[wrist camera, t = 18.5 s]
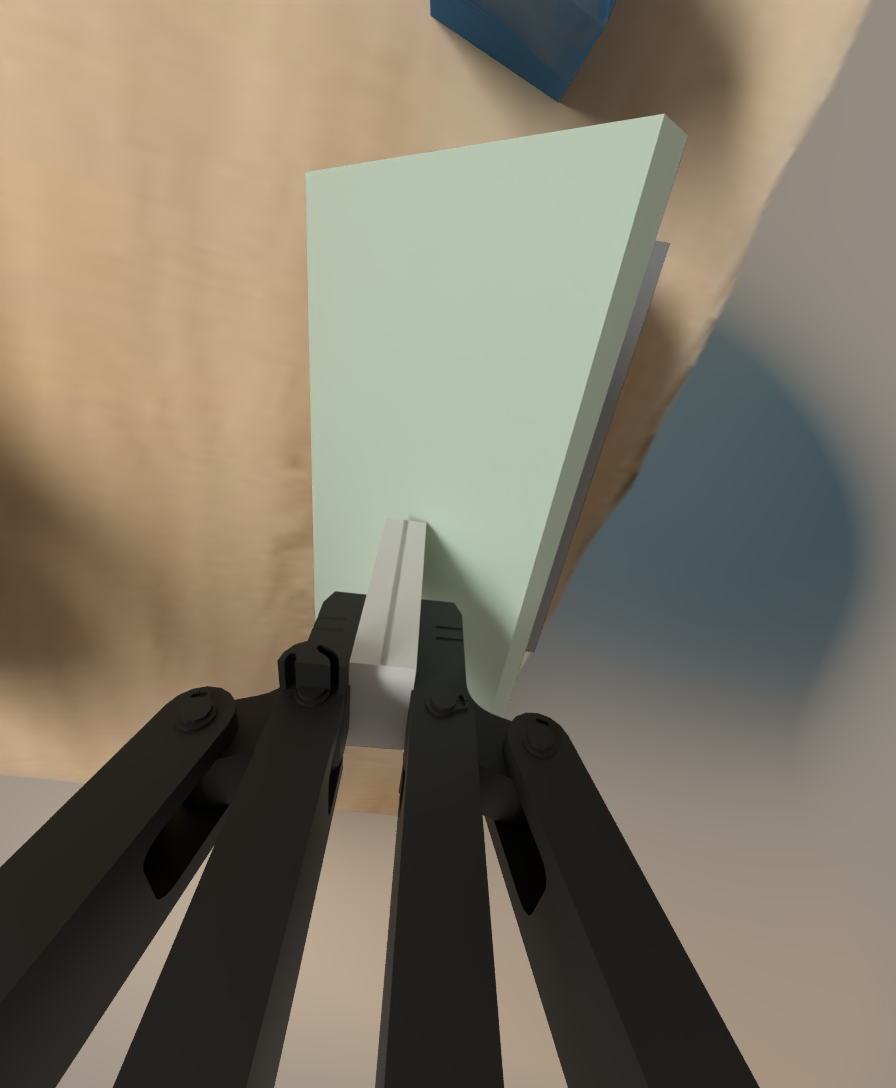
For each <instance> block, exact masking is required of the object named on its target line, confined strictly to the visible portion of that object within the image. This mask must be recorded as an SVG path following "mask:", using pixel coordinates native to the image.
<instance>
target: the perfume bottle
mask: <svg viewBox="0 0 896 1088" xmlns="http://www.w3.org/2000/svg"><path fill="white" fill-rule="evenodd" d="M615 2H616V0H430V10H431V16H432V17H434V18H435V19H437V20H438V21H440V22H441V23H443V24H444V25H446V26H447V27H448V28H450V29H451V30H453V31H454V32H456V33H457V34H459V35H460V36H462V37H463V38H465V39H466V40H468V41H469V42H470V43H472V44H473V45H475V46H476V47H478V48H479V49H481V50H482V51H484V52H485V53H487V54H488V55H490V56H491V57H492V58H494V59H495V60H497V61H498V62H500V63H501V64H503V65H504V66H506V67H507V68H509V69H510V70H512V71H513V72H514V73H516V74H517V75H519V76H520V77H522V78H523V79H525V80H526V81H528V82H529V83H531V84H532V85H534V86H535V87H536V88H538V89H539V90H541V91H542V92H544V93H545V94H547V95H548V96H550V97H551V98H553V99H554V100H556V101H557V102H559V100H560V99H561V97H562V95H563V94H564V92H565V91H566V89H567V87H568V86H569V84H570V82H571V81H572V79H573V78H574V76H575V74H576V73H577V71H578V69H579V68H580V66H581V64H582V63H583V61H584V60H585V58H586V56H587V55H588V53H589V51H590V50H591V48H592V47H593V45H594V43H595V42H596V40H597V38H598V37H599V35H600V34H601V32H602V30H603V29H604V27H605V25H606V23H607V21H608V19H609V16H610V14H611V12H612V9H613V7H614V5H615Z"/></svg>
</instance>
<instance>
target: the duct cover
mask: <svg viewBox="0 0 896 1088" xmlns="http://www.w3.org/2000/svg"><path fill="white" fill-rule="evenodd" d="M687 139H688V135H687V134H686V133H685V132H684V131H683V130H682V129H681V128H679V127H678V126H677V125H676V124H675V123H674V122H673V121H672V120H671V119H670V118H669V117H668V116H667V115H666V114H659V115H653V116H647V117H641V118H635V119H629V120H623V121H617V122H610V123H604V124H598V125H592V126H586V127H580V128H574V129H567V130H561V131H555V132H549V133H543V134H537V135H531V136H525V137H518V138H512V139H506V140H500V141H494V142H488V143H482V144H475V145H469V146H463V147H457V148H451V149H445V150H439V151H433V152H426V153H420V154H414V155H408V156H402V157H396V158H390V159H384V160H377V161H371V162H365V163H359V164H353V165H347V166H341V167H334V168H328V169H322V170H316V171H310V172H305V173H306V220H307V266H308V313H309V359H310V406H311V452H312V499H313V545H314V592H315V621H316V619H317V618H318V614H319V611H320V609H321V606H322V604H323V602H324V601H325V600H326V599H327V598H328V597H329V596H330V595H331V594H333V593H334V592H335V591H338V592H348V593H357V594H367V592H368V588H369V584H370V580H371V576H372V572H373V568H374V564H375V560H376V557H377V553H378V549H379V545H380V541H381V537H382V533H383V529H384V525H385V521H386V518H392V519H400V520H409V521H416V522H425V523H426V536H425V550H424V565H423V579H422V594H421V599H424V600H434V601H443V602H453V603H455V605H456V606H457V608H458V609H459V611H460V613H461V614H462V621H463V637H464V641H463V642H464V652H465V668H466V683H467V688H468V691H469V693H470V695H471V697H472V699H473V700H474V701H475V702H476V703H477V704H478V705H479V706H480V707H482V708H483V709H484V710H486V711H488V712H490V713H492V714H494V715H496V716H499V717H502V718H504V716H505V713H506V710H507V707H508V704H509V701H510V697H511V694H512V691H513V687H514V685H515V682H516V678H517V675H518V672H519V669H520V666H521V663H522V660H523V656H524V653H525V650H526V647H527V644H528V641H529V637H530V634H531V631H532V628H533V625H534V622H535V618H536V615H537V612H538V609H539V606H540V603H541V600H542V596H543V593H544V590H545V587H546V584H547V581H548V577H549V574H550V571H551V568H552V565H553V562H554V558H555V555H556V552H557V549H558V546H559V543H560V540H561V536H562V533H563V530H564V527H565V524H566V521H567V517H568V514H569V511H570V508H571V505H572V502H573V498H574V495H575V492H576V489H577V486H578V483H579V480H580V476H581V473H582V470H583V467H584V464H585V461H586V457H587V454H588V451H589V448H590V445H591V442H592V438H593V435H594V432H595V429H596V426H597V423H598V420H599V416H600V413H601V410H602V407H603V404H604V401H605V397H606V394H607V391H608V388H609V385H610V382H611V379H612V375H613V372H614V369H615V366H616V363H617V360H618V356H619V353H620V350H621V347H622V344H623V341H624V337H625V334H626V331H627V328H628V325H629V322H630V319H631V315H632V312H633V309H634V306H635V303H636V300H637V296H638V293H639V290H640V287H641V284H642V281H643V277H644V274H645V271H646V268H647V265H648V262H649V259H650V255H651V252H652V249H653V246H654V243H655V240H656V236H657V233H658V230H659V227H660V224H661V221H662V217H663V214H664V211H665V208H666V205H667V202H668V199H669V195H670V192H671V189H672V186H673V183H674V180H675V176H676V173H677V170H678V167H679V164H680V161H681V157H682V154H683V151H684V148H685V145H686V142H687ZM402 751H403V752H404V750H402Z"/></svg>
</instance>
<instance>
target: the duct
mask: <svg viewBox="0 0 896 1088" xmlns="http://www.w3.org/2000/svg"><path fill="white" fill-rule="evenodd" d="M669 245H670V243H666V242H660V241H655V243H654V246H653V249H652V252H651V255H650V259H649V262H648V265H647V268H646V271H645V274H644V277H643V281H642V284H641V287H640V290H639V293H638V296H637V300H636V303H635V306H634V309H633V312H632V315H631V319H630V322H629V325H628V328H627V331H626V334H625V337H624V341H623V344H622V347H621V350H620V353H619V356H618V360H617V363H616V366H615V369H614V372H613V375H612V379H611V382H610V385H609V388H608V391H607V394H606V397H605V401H604V404H603V407H602V410H601V413H600V416H599V420H598V423H597V426H596V429H595V432H594V435H593V438H592V442H591V445H590V448H589V451H588V454H587V457H586V461H585V464H584V467H583V470H582V473H581V476H580V480H579V483H578V486H577V489H576V492H575V495H574V498H573V502H572V505H571V508H570V511H569V514H568V517H567V521H566V524H565V527H564V530H563V533H562V536H561V540H560V543H559V546H558V549H557V552H556V555H555V558H554V562H553V565H552V568H551V571H550V574H549V577H548V581H547V584H546V587H545V590H544V593H543V596H542V600H541V603H540V606H539V609H538V612H537V615H536V618H535V622H534V625H533V628H532V631H531V634H530V637H529V641H528V644H527V647H526V650H525V651H528V652H534V651H535V649H536V646H537V643H538V640H539V637H540V634H541V631H542V628H543V625H544V622H545V619H546V615H547V612H548V609H549V606H550V603H551V600H552V597H553V594H554V591H555V588H556V585H557V582H558V579H559V576H560V573H561V570H562V567H563V564H564V561H565V558H566V555H567V552H568V549H569V546H570V543H571V540H572V537H573V534H574V531H575V528H576V525H577V522H578V519H579V516H580V513H581V510H582V507H583V504H584V501H585V498H586V495H587V492H588V489H589V486H590V483H591V480H592V477H593V474H594V471H595V468H596V465H597V462H598V459H599V456H600V453H601V450H602V447H603V444H604V441H605V438H606V435H607V432H608V429H609V426H610V423H611V420H612V417H613V414H614V411H615V408H616V405H617V402H618V399H619V396H620V393H621V390H622V387H623V384H624V381H625V378H626V375H627V372H628V369H629V366H630V363H631V360H632V357H633V353H634V350H635V347H636V344H637V341H638V338H639V335H640V332H641V329H642V326H643V323H644V320H645V317H646V314H647V311H648V308H649V305H650V302H651V299H652V296H653V293H654V290H655V287H656V284H657V281H658V278H659V275H660V272H661V269H662V266H663V263H664V260H665V257H666V254H667V251H668V248H669Z"/></svg>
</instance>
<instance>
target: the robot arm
mask: <svg viewBox="0 0 896 1088" xmlns="http://www.w3.org/2000/svg"><path fill="white" fill-rule="evenodd" d="M425 536H426V523H425V522H416V521H409V520H400V519H392V518H386V521H385V525H384V529H383V533H382V537H381V541H380V545H379V549H378V553H377V557H376V560H375V564H374V568H373V572H372V576H371V580H370V584H369V588H368V592H367V594H357V593H348V592H338V591H335V592H334V593H333V594H331V595H330V596H329V597H328V598H327V599H326V600H325V601H324V602H323V604H322V606H321V609H320V611H319V614H318V618H317V619H316V621H315V624H314V628H313V629H312V632H311V634H310V637H309V639H308V641H305V642H302V643H299V644H296V645H294V646H292V647H291V648H289V649H288V650H286V651H285V652H284V653H283V654H282V655H281V657H280V658H279V659H278V671H279V683H280V688H278V689H276V690H274V691H272V692H269V693H266V694H263V695H259V696H254V697H248V698H243V699H237V700H234V699H233V697H232V695H231V694H230V693H229V692H227V691H225V690H224V689H222V688H217V687H209V686H207V687H201V688H195V689H192V690H189V691H187V692H185V693H182V694H180V695H178V696H177V697H175V698H174V699H173V700H171V701H170V702H169V703H167V704H166V705H165V706H164V707H163V708H162V709H161V710H160V711H159V712H158V713H157V714H156V715H155V716H154V717H153V718H152V719H151V720H150V721H149V722H148V723H147V724H146V725H145V726H144V727H143V728H142V729H141V730H140V731H139V732H138V733H137V734H136V735H135V736H134V737H133V738H131V739H130V740H129V741H128V742H127V743H126V744H125V745H124V746H123V747H122V748H121V749H120V750H119V751H118V752H117V753H116V754H115V755H114V756H113V757H112V758H111V759H110V760H109V761H108V762H107V763H106V764H105V765H104V766H103V767H102V768H101V769H100V770H99V771H98V772H97V773H96V774H95V775H94V776H93V777H92V778H91V779H90V780H89V781H88V782H87V783H86V784H85V785H84V786H83V787H82V788H81V789H80V790H79V791H78V792H77V793H76V794H74V796H72V797H71V798H70V799H69V800H68V801H67V802H66V804H64V805H63V806H62V807H61V808H60V809H59V810H58V811H57V812H56V813H55V814H54V815H53V816H52V817H51V818H50V819H49V820H48V821H47V822H46V823H45V824H44V825H43V826H42V827H41V828H40V829H39V830H38V831H37V832H36V833H35V834H34V835H33V836H32V837H31V838H30V839H29V840H28V841H27V842H26V843H25V844H24V845H23V846H22V847H21V848H19V849H18V850H17V851H16V853H14V854H13V855H12V856H11V857H10V858H9V859H8V860H7V861H6V862H5V863H4V864H3V865H2V866H1V867H0V1088H55V1087H56V1086H57V1084H58V1083H59V1081H60V1079H61V1078H62V1077H63V1075H64V1074H65V1072H66V1070H67V1069H68V1067H69V1066H70V1065H71V1063H72V1061H73V1060H74V1058H75V1057H76V1055H77V1054H78V1052H79V1051H80V1049H81V1048H82V1046H83V1045H84V1043H85V1042H86V1040H87V1039H88V1037H89V1035H90V1034H91V1032H92V1031H93V1029H94V1027H95V1026H96V1025H97V1023H98V1021H99V1020H100V1019H101V1017H102V1016H103V1014H104V1012H105V1011H106V1010H107V1008H108V1007H109V1005H110V1003H111V1002H112V1000H113V999H114V997H115V996H116V994H117V993H118V991H119V990H120V988H121V987H122V985H123V984H124V982H125V981H126V979H127V977H128V976H129V974H130V973H131V971H132V970H133V968H134V967H135V965H136V964H137V962H138V961H139V959H140V958H141V956H142V954H143V953H144V952H145V950H146V949H147V947H148V945H149V944H150V942H151V941H152V939H153V938H154V936H155V935H156V933H157V932H158V930H159V929H160V927H161V926H162V924H163V923H164V921H165V920H166V918H167V916H168V915H169V913H170V912H171V910H172V909H173V907H174V906H175V904H176V903H177V901H178V900H179V898H180V897H181V895H182V894H183V892H184V891H185V889H186V887H187V886H188V884H189V883H190V881H191V880H192V878H193V877H194V875H195V874H196V872H197V870H198V869H199V868H200V866H201V865H202V863H203V862H204V860H205V858H206V857H207V855H208V854H209V852H210V851H211V849H212V848H213V846H214V848H213V850H212V853H211V855H210V857H209V860H208V862H207V865H206V867H205V869H204V872H203V874H202V876H201V879H200V881H199V884H198V886H197V889H196V891H195V893H194V895H193V898H192V900H191V903H190V905H189V907H188V910H187V912H186V914H185V917H184V919H183V922H182V924H181V926H180V929H179V931H178V934H177V936H176V939H175V941H174V943H173V945H172V948H171V950H170V953H169V955H168V957H167V960H166V962H165V965H164V967H163V969H162V972H161V974H160V976H159V979H158V981H157V983H156V986H155V988H154V991H153V993H152V996H151V998H150V1000H149V1003H148V1005H147V1007H146V1010H145V1012H144V1014H143V1017H142V1019H141V1022H140V1024H139V1027H138V1029H137V1031H136V1033H135V1036H134V1038H133V1041H132V1043H131V1045H130V1048H129V1050H128V1053H127V1055H126V1057H125V1060H124V1062H123V1064H122V1067H121V1070H120V1072H119V1074H118V1076H117V1079H116V1081H115V1083H114V1086H113V1088H274V1085H275V1081H276V1076H277V1072H278V1067H279V1062H280V1058H281V1053H282V1048H283V1044H284V1039H285V1035H286V1030H287V1025H288V1021H289V1016H290V1011H291V1007H292V1002H293V997H294V993H295V988H296V984H297V979H298V974H299V970H300V965H301V960H302V955H303V951H304V946H305V942H306V937H307V932H308V928H309V922H310V919H311V914H312V909H313V904H314V900H315V895H316V890H317V885H318V881H319V877H320V872H321V868H322V863H323V858H324V853H325V849H326V844H327V840H328V835H329V830H330V825H331V821H332V816H333V812H334V807H335V803H336V798H337V793H338V789H339V784H340V779H341V775H342V770H343V754H344V749H345V744H346V740H347V745H348V746H361V747H373V748H384V749H397V750H404V753H403V767H402V774H401V781H400V788H399V793H400V798H399V810H398V821H397V833H396V845H395V857H394V869H393V882H392V893H391V906H390V917H389V929H388V941H387V953H386V964H385V976H384V988H383V1000H382V1012H381V1025H380V1037H379V1049H378V1060H377V1072H376V1085H375V1088H504V1081H503V1069H502V1056H501V1045H500V1044H501V1043H500V1031H499V1018H498V1006H497V994H496V980H495V968H494V956H493V943H492V931H491V918H490V906H489V893H488V880H487V867H486V855H485V843H484V830H483V817H482V815H484V816H485V819H486V822H487V825H488V829H489V832H490V835H491V838H492V841H493V845H494V848H495V851H496V854H497V858H498V861H499V864H500V868H501V871H502V874H503V878H504V881H505V884H506V887H507V890H508V894H509V897H510V900H511V903H512V907H513V910H514V913H515V917H516V920H517V923H518V926H519V929H520V933H521V936H522V939H523V943H524V945H525V949H526V952H527V956H528V959H529V962H530V965H531V969H532V972H533V975H534V978H535V982H536V985H537V988H538V991H539V995H540V998H541V1001H542V1004H543V1008H544V1011H545V1014H546V1017H547V1021H548V1024H549V1027H550V1031H551V1034H552V1037H553V1040H554V1043H555V1047H556V1050H557V1053H558V1057H559V1060H560V1063H561V1066H562V1070H563V1073H564V1076H565V1079H566V1083H567V1086H568V1088H760V1087H759V1086H758V1084H757V1082H756V1080H755V1079H754V1076H753V1075H752V1073H751V1071H750V1069H749V1067H748V1065H747V1064H746V1062H745V1060H744V1058H743V1056H742V1054H741V1053H740V1051H739V1049H738V1047H737V1045H736V1043H735V1042H734V1040H733V1038H732V1036H731V1035H730V1032H729V1030H728V1029H727V1027H726V1025H725V1023H724V1021H723V1020H722V1018H721V1016H720V1014H719V1012H718V1010H717V1008H716V1007H715V1005H714V1003H713V1001H712V999H711V997H710V996H709V994H708V992H707V990H706V988H705V986H704V985H703V983H702V981H701V979H700V977H699V975H698V973H697V972H696V970H695V968H694V966H693V964H692V963H691V961H690V959H689V957H688V955H687V953H686V952H685V950H684V948H683V946H682V944H681V942H680V940H679V939H678V937H677V935H676V933H675V931H674V929H673V928H672V926H671V924H670V922H669V920H668V918H667V917H666V915H665V913H664V911H663V909H662V907H661V905H660V904H659V902H658V900H657V898H656V896H655V894H654V893H653V891H652V889H651V887H650V885H649V883H648V882H647V880H646V878H645V876H644V875H643V872H642V871H641V869H640V867H639V865H638V863H637V861H636V860H635V858H634V856H633V854H632V852H631V850H630V849H629V847H628V845H627V843H626V841H625V839H624V837H623V836H622V834H621V832H620V830H619V828H618V826H617V825H616V823H615V821H614V819H613V817H612V815H611V814H610V812H609V810H608V808H607V806H606V804H605V803H604V801H603V799H602V797H601V795H600V794H599V791H598V790H597V788H596V786H595V784H594V783H593V781H592V779H591V777H590V775H589V773H588V771H587V770H586V768H585V766H584V764H583V762H582V760H581V758H580V757H579V755H578V753H577V751H576V749H575V747H574V746H573V744H572V742H571V740H570V738H569V736H568V735H567V734H566V732H565V731H564V730H563V728H562V727H561V726H560V725H559V724H557V723H556V722H555V721H553V720H552V719H551V718H549V717H547V716H544V715H541V714H538V713H524V714H522V715H519V716H516V717H515V718H514V719H513V721H509V720H507V719H504V718H502V717H499V716H496V715H494V714H492V713H490V712H488V711H486V710H484V709H483V708H482V707H480V706H479V705H478V704H477V703H476V702H475V701H474V700H473V699H472V697H471V695H470V693H469V691H468V688H467V683H466V668H465V652H464V642H463V641H464V637H463V621H462V614H461V613H460V611H459V609H458V608H457V606H456V605H455V603H453V602H443V601H434V600H424V599H421V594H422V579H423V565H424V550H425Z"/></svg>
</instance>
